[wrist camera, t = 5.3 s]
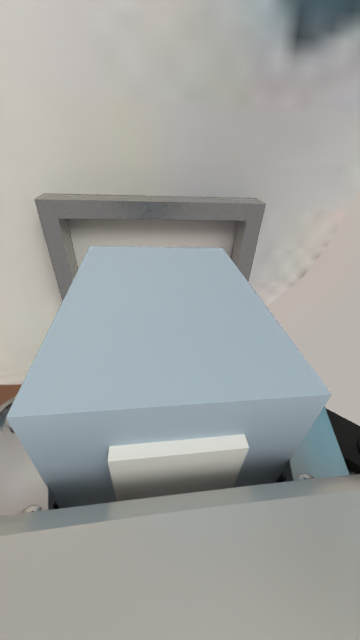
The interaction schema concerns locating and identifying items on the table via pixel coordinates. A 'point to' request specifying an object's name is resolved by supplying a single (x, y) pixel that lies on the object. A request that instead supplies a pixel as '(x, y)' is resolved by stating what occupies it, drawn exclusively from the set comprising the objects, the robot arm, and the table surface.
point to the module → (162, 381)
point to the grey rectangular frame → (143, 207)
